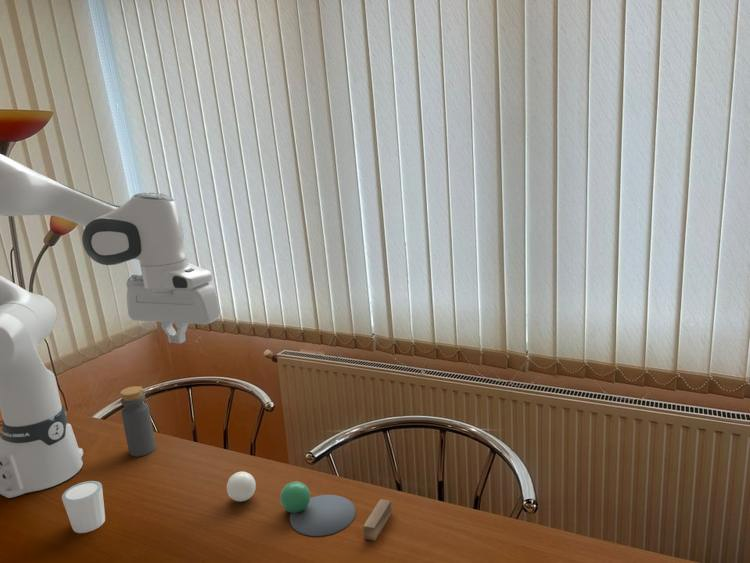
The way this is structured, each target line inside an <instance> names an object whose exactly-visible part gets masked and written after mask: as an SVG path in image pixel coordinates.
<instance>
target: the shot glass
mask: <svg viewBox="0 0 750 563" xmlns="http://www.w3.org/2000/svg"><path fill="white" fill-rule="evenodd" d="M103 491H104V490H103V484H102V483H101V482H100V481H95V480H88V481H83V482H79V483H76V484H74V485H72V486H70V487H69V488H67V489H66V490H65V491H64V492H63V493H62V495H61V500H62V503H63V506H64V508H65V511H66V514H67V517H68V520H69V522H70V525H71V526H70V527H71V528H72V531H74V532H75V533H77V534H86V533H88V532H89V533H90V532H93V531H94V530H97V529H99V528H100V527H101V526H103V524H104V523H105V521H106V514H105V513H106V512H105V503H104V492H103Z"/></svg>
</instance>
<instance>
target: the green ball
mask: <svg viewBox="0 0 750 563" xmlns="http://www.w3.org/2000/svg"><path fill="white" fill-rule="evenodd" d="M310 492H311V491H310V489H309V488H308V486H307V485H306V484H305V483H303V482H302V481H301V482H300V481H291V482H289V483H287V484H286V485H285V486H283V488H282V490H281V492H280V495H279V496H280V498H279V499H280V505H281V506H282V508H283V509H284V510H285V511H286V512H288V513H290V514H291V513H298V512H301V511H303V510H304V509H305V508H306V507H307V506H308V504H309V502H310V498H311V493H310Z"/></svg>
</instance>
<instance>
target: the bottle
mask: <svg viewBox="0 0 750 563" xmlns="http://www.w3.org/2000/svg"><path fill="white" fill-rule="evenodd" d="M120 396H121V400H120V403H121V404H120V405H122V406H123V408H122V409H121V418H122V424H123V428H124V434H125V440H126V444H127V447H128V448H127V449H128V453H129V455H130V456H132V457H143V456H146V455H149V454H150V453H153V452H154V451H155V450H156V447H157V446H156V440H155V434H154V429H153V424H152V423H153V422H152V417H151V413H150V408H149V404H148V403H146V402H144V401H145V400H146V394H144V393H143V387H142V386H138V385H135V386H134V385H133V386H129V387H126V388H124V389H122V390H121V391H120Z"/></svg>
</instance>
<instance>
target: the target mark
mask: <svg viewBox="0 0 750 563" xmlns="http://www.w3.org/2000/svg"><path fill="white" fill-rule="evenodd" d="M355 516H356V507H355V505H354V503H353V502H352V501H351V500H350V499H348V498H346V497H344V496H341V495H338V494H321V495H316V496H312V497H310V502H309V504H308V506H307V507H306V508H305V509H304V510H303V511H301V512H298V513H291V512H290V516H289V521H290V526H291V528H292V529H294V530H295V531H296V533H297V532H298V533H299V534H302V535H304V536H310V537H323V536H324V537H325V536H329V535H334V534H336V533H339V532H340V531H342V530H344V529H346V528H347V527H348V526H350V524H352V522H353V521H354V519H355Z"/></svg>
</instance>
